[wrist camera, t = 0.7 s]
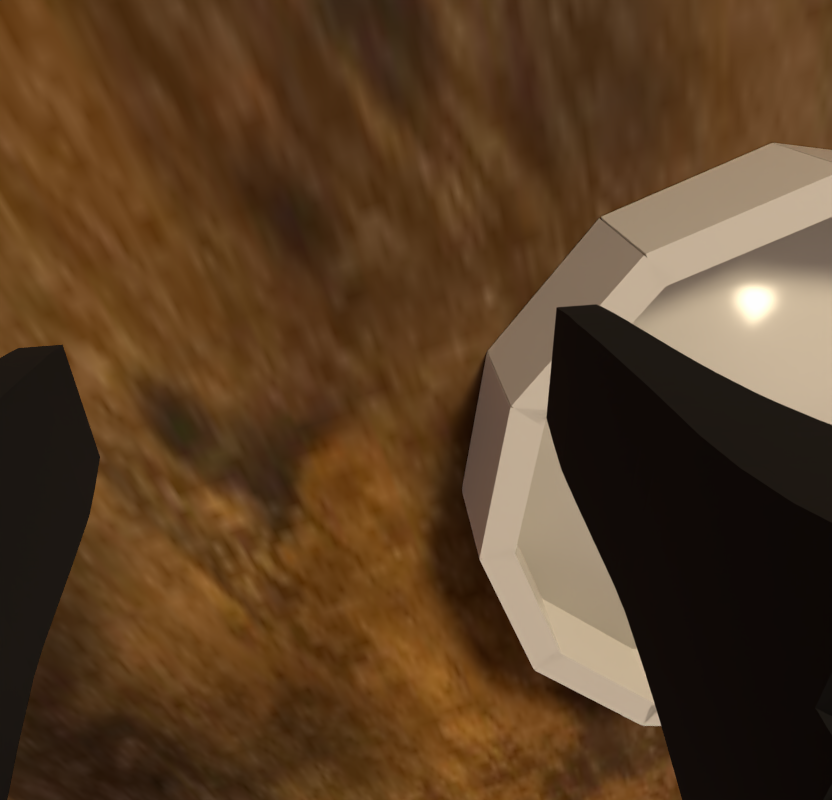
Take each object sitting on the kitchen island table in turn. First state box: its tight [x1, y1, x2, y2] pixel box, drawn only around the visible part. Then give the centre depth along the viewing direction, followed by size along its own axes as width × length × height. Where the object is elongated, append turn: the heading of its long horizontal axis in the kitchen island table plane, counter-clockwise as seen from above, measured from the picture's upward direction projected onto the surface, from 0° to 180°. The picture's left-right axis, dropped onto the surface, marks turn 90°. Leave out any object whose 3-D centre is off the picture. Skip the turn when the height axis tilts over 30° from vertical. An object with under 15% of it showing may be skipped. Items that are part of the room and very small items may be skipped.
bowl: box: [462, 143, 832, 726], centre depth 24 cm, size 18×18×4 cm
